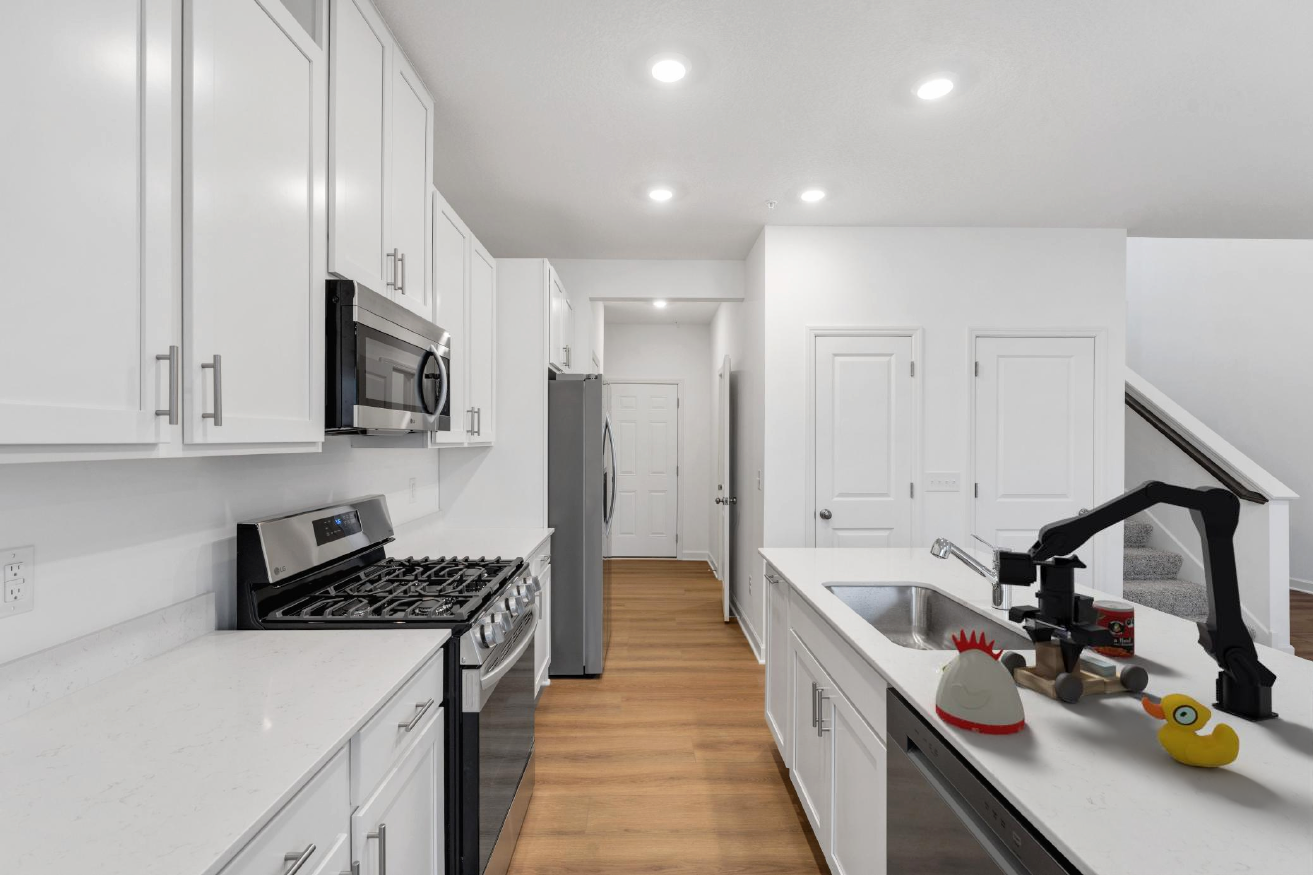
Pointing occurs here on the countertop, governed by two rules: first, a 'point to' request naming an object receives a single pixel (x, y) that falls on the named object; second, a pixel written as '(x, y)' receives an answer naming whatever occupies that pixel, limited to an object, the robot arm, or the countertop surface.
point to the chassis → (1071, 688)
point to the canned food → (1117, 628)
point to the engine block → (1052, 660)
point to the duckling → (1192, 732)
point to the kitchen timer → (979, 690)
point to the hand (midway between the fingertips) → (1058, 668)
